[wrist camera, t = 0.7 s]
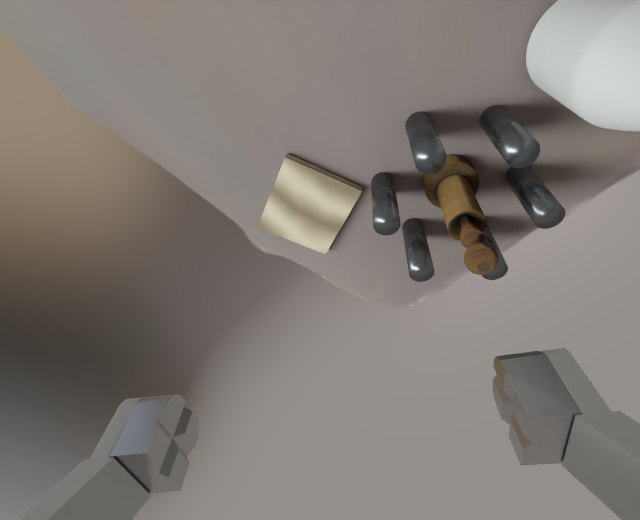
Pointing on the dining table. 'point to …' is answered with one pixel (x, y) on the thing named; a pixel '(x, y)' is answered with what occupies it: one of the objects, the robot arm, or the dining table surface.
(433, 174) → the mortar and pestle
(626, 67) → the wine bottle
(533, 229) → the dining table surface
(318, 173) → the birch board
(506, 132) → the capsules
